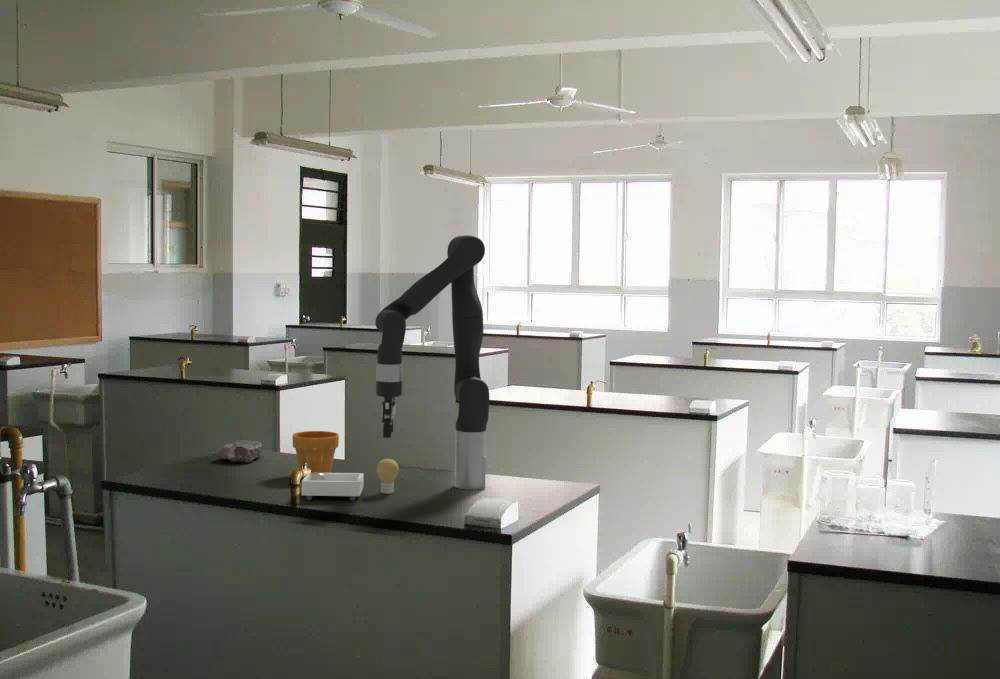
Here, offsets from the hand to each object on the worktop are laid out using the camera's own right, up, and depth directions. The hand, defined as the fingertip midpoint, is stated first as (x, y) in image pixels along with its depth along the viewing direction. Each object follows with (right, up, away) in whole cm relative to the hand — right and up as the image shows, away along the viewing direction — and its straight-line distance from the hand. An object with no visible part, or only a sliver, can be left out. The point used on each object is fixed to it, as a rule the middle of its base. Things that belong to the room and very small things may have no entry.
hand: (388, 435), depth 289 cm
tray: (-15, -17, -5) cm, 23 cm away
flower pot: (-25, -15, +23) cm, 37 cm away
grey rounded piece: (-20, -14, -5) cm, 25 cm away
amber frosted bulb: (0, -17, +1) cm, 17 cm away
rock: (-54, -13, +46) cm, 72 cm away
